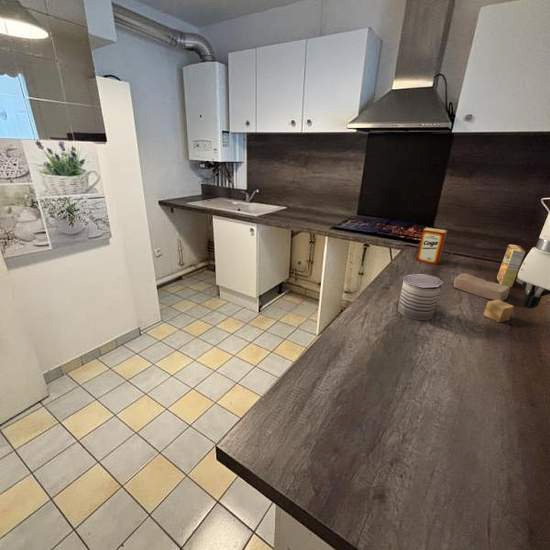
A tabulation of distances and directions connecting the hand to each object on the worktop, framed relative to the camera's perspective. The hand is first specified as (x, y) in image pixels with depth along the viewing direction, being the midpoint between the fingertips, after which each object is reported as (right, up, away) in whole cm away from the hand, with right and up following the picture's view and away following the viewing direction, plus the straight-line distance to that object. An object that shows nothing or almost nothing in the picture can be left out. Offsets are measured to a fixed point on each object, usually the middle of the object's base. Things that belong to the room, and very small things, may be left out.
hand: (529, 306), depth 85 cm
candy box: (+21, +6, +36) cm, 42 cm away
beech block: (-2, -5, +10) cm, 11 cm away
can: (-28, -3, +12) cm, 31 cm away
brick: (+4, +2, +27) cm, 28 cm away
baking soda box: (+2, +16, +60) cm, 62 cm away
